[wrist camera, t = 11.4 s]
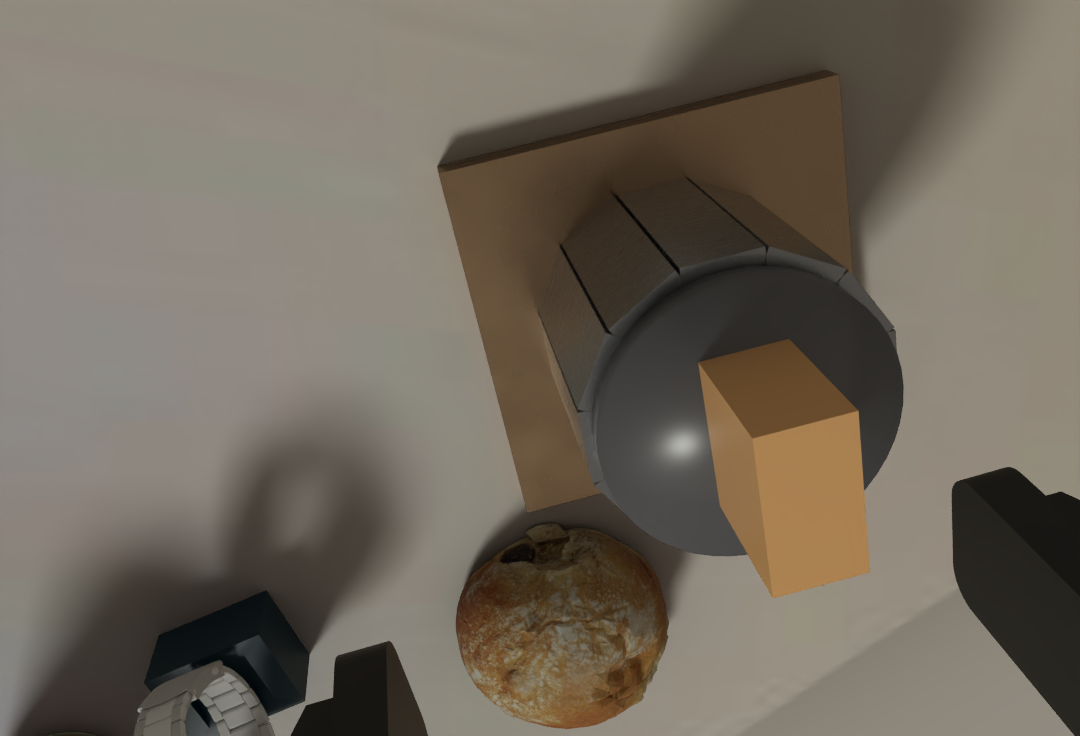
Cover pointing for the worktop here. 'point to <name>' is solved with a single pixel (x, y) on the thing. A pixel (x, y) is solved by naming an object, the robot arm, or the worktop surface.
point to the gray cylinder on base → (636, 246)
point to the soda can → (72, 734)
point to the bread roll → (563, 627)
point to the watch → (224, 673)
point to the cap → (753, 422)
